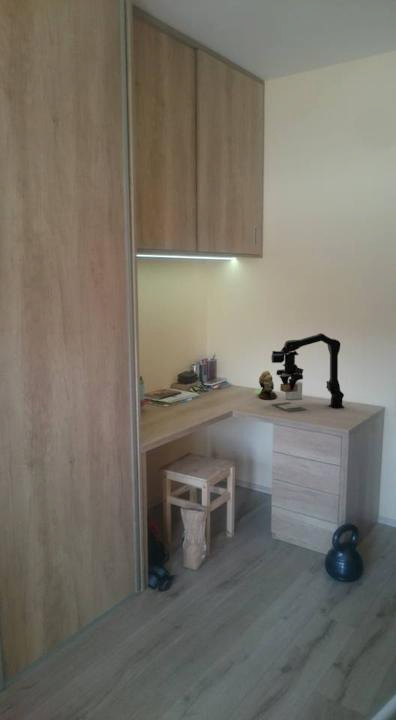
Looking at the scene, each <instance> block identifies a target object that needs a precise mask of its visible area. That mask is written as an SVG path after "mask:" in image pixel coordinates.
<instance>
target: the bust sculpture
mask: <svg viewBox="0 0 396 720" xmlns="http://www.w3.org/2000/svg"><path fill="white" fill-rule="evenodd" d="M258 378H259V379H258V383H259V385H260V388H261V391H260V393H258V398H259V399H260V400H271V401H274V400H276V399H277V398H278V394H277V393H276V392H275V391H274V389H275V386H274V385H275V384H274V381H273V376H272V374H271V373H270V371H269V370H265V371H263V372H262V373H261V375H260V376H259V377H258Z"/></svg>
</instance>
